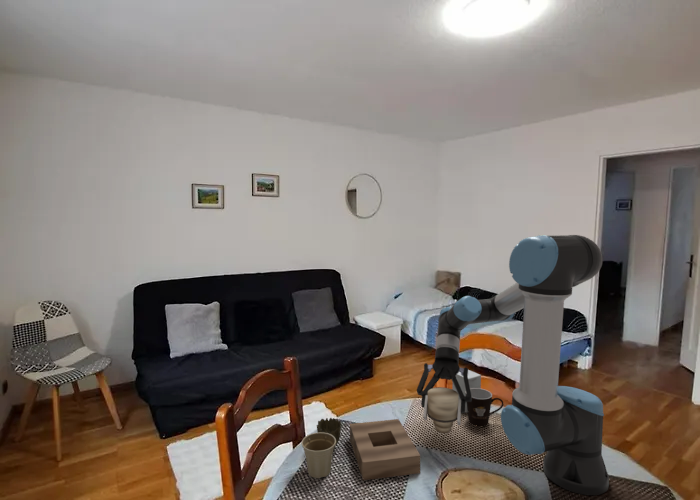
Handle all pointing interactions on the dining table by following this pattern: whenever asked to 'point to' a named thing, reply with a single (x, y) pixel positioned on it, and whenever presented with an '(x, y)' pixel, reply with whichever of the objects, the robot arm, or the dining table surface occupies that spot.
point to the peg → (442, 408)
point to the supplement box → (473, 381)
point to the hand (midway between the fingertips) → (441, 420)
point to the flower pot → (319, 453)
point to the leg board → (383, 449)
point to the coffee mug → (480, 406)
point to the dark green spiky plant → (330, 427)
